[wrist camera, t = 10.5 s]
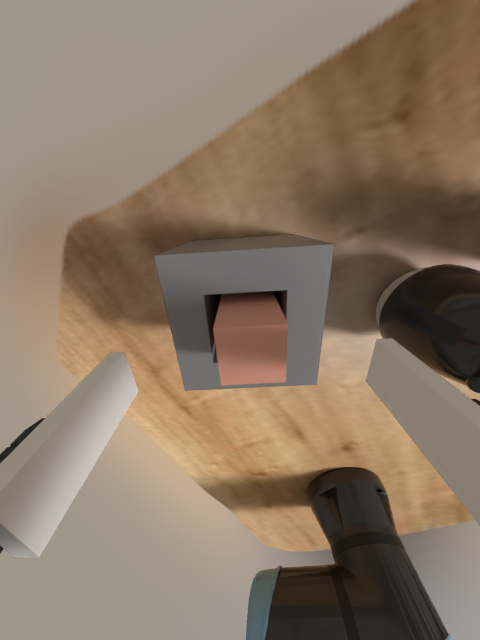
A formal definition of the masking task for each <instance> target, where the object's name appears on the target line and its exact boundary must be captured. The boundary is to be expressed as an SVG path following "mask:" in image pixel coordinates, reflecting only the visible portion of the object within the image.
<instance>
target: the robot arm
mask: <svg viewBox="0 0 480 640" xmlns="http://www.w3.org/2000/svg"><path fill="white" fill-rule="evenodd" d="M366 382H367V383H368V384H369V385H370V387H371V388H372V389H373V391H374V392H375V393H376V394H377V396H378V397H379V398H380V399H381V401H382V402H383V403H384V404H385V406H386V407H387V408H388V410H389V411H390V412H391V413H392V415H393V416H394V417H395V418H396V420H397V421H398V422H399V424H400V425H401V426H402V427H403V429H404V430H405V431H406V432H407V434H408V435H409V436H410V437H411V439H412V440H413V441H414V443H415V444H416V445H417V446H418V448H419V449H420V450H421V451H422V453H423V454H424V455H425V457H426V458H427V459H428V460H429V462H430V463H431V464H432V465H433V467H434V468H435V469H436V470H437V472H438V473H439V474H440V476H441V477H442V478H443V479H444V481H445V482H446V483H447V484H448V486H449V487H450V488H451V490H452V491H453V492H454V493H455V495H456V496H457V497H458V498H459V500H460V501H461V502H462V503H463V505H464V506H465V507H466V509H467V510H468V511H469V512H470V514H471V515H472V516H473V517H474V519H475V520H476V521H477V522H478V524H479V525H480V401H478V400H476V399H470V398H469V397H467V396H466V395H465V394H464V393H462V392H461V391H460V390H458V389H457V388H456V387H454V386H453V385H452V384H451V383H449V382H448V381H447V380H445V379H444V378H443V377H441V376H440V375H439V374H438V373H436V372H435V371H434V370H432V369H431V368H430V367H428V366H427V365H426V364H425V363H423V362H422V361H421V360H419V359H418V358H417V357H416V356H414V355H413V354H412V353H410V352H409V351H408V350H406V349H405V348H404V347H403V346H401V345H400V344H399V343H397V342H396V341H395V340H393V339H392V338H388V339H377V340H376V344H375V348H374V351H373V355H372V359H371V363H370V367H369V371H368V375H367V379H366ZM137 393H138V389H137V386H136V383H135V380H134V377H133V375H132V372H131V369H130V366H129V363H128V361H127V358H126V355H125V352H115V353H109V354H108V355H107V356H106V357H105V358H104V359H103V360H102V362H101V363H100V364H99V365H98V366H97V367H96V368H95V369H94V370H93V371H92V372H91V373H90V374H89V375H88V376H87V377H86V378H85V379H84V380H83V381H82V382H81V383H80V384H79V385H78V386H77V387H76V388H75V389H74V390H73V391H72V392H71V393H70V394H69V395H68V396H67V397H66V398H65V399H64V400H63V401H62V402H61V403H60V404H59V405H58V406H57V407H56V408H55V409H54V410H53V411H52V412H51V413H50V414H49V415H48V416H47V417H46V418H42V419H41V420H39V421H38V422H36V423H35V424H33V425H32V426H30V427H29V428H28V429H26V430H25V431H24V432H23V433H22V434H21V435H20V436H19V437H18V438H17V439H16V440H15V441H14V442H13V443H12V444H11V446H10V447H7V448H6V449H5V450H4V451H3V452H2V453H1V454H0V553H1V552H2V550H3V549H4V550H5V551H7V552H8V553H9V554H10V555H12V556H13V557H14V558H16V557H17V558H19V557H39V556H40V555H41V553H42V552H43V550H44V548H45V546H46V545H47V543H48V542H49V540H50V538H51V537H52V535H53V533H54V532H55V530H56V528H57V527H58V525H59V523H60V522H61V520H62V518H63V517H64V515H65V513H66V512H67V510H68V508H69V507H70V505H71V503H72V502H73V500H74V498H75V497H76V495H77V493H78V491H79V490H80V488H81V487H82V485H83V483H84V482H85V480H86V478H87V477H88V475H89V473H90V471H91V470H92V468H93V466H94V464H95V463H96V461H97V460H98V458H99V456H100V455H101V453H102V451H103V450H104V448H105V446H106V445H107V443H108V441H109V440H110V438H111V436H112V435H113V433H114V431H115V430H116V428H117V426H118V425H119V423H120V421H121V420H122V418H123V416H124V415H125V413H126V411H127V410H128V408H129V406H130V405H131V403H132V401H133V400H134V398H135V396H136V395H137ZM307 494H308V499H309V503H310V506H311V509H312V511H313V513H314V515H315V517H316V519H317V521H318V522H319V524H320V526H321V528H322V530H323V532H324V534H325V536H326V538H327V540H328V542H329V544H330V547H331V550H332V554H333V557H334V561H335V564H333V565H320V566H303V567H286V568H282V566H278V567H277V568H275V569H268V570H262V571H260V572H258V573H257V574H256V576H255V577H254V580H253V582H252V586H251V591H250V597H249V605H248V615H247V629H246V640H452V638H451V636H450V634H448V633H447V631H446V629H445V627H444V625H443V623H442V621H441V619H440V617H439V615H438V613H437V611H436V609H435V607H434V605H433V603H432V601H431V599H430V597H429V595H428V593H427V591H426V589H425V587H424V585H423V583H422V581H421V579H420V577H419V576H418V574H417V572H416V570H415V568H414V566H413V564H412V562H411V560H410V558H409V556H408V554H407V552H406V550H405V548H404V546H403V544H402V542H401V540H400V539H399V536H398V534H397V531H396V527H395V523H394V519H393V515H392V511H391V507H390V503H389V499H388V495H387V492H386V490H385V488H384V486H383V484H382V482H381V480H380V479H379V477H378V476H377V475H376V474H374V473H372V472H370V471H368V470H364V469H357V468H346V469H339V470H334V471H331V472H328V473H325V474H323V475H321V476H319V477H318V478H316V479H315V480H314V481H313V482H312V483H311V484H310V485H309V487H308V490H307Z"/></svg>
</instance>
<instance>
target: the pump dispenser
mask: <svg viewBox="0 0 480 640" xmlns="http://www.w3.org/2000/svg"><path fill="white" fill-rule="evenodd" d="M376 321H377V324H378V327H379V330H380V333H381V336H382V338H383V339H388V338H392V339H393V340H395V341H396V342H397V343H399V344H400V345H401V346H403V347H404V348H405V349H406V350H408V351H409V352H410V353H412V354H413V355H414V356H416V357H417V358H418V359H419V360H421V361H422V362H423V363H425V364H426V365H427V366H428V367H430V368H431V369H432V370H434V371H435V372H436V373H438V374H440V375H442V376H444V377H446V378H449V379H451V380H454V381H456V382H458V383H461V384H463V385H466V386H468V388H469V389H471V390H472V391H474V392H477V393H480V271H478V270H475V269H472V268H469V267H465V266H460V265H453V264H443V265H436V266H432V267H427V268H422V269H418V270H414V271H411V272H409V273H407V274H404V275H403V276H401V277H399V278H398V279H396V280H395V281H393V282H392V283H391V284H390V285H389V286H388V287H387V288H386V289H385V290H384V292H383V293H382V295H381V296H380V298H379V301H378V303H377V307H376Z"/></svg>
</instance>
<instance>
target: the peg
mask: <svg viewBox="0 0 480 640" xmlns="http://www.w3.org/2000/svg"><path fill="white" fill-rule="evenodd" d="M213 331H214V338H215V346H216V353H217V360H218V367H219V374H220V381H221V386H223V385H242V384H261V383H281V382H286V367H287V338H288V323H287V321H286V319H285V317H284V314H283V312H282V310H281V308H280V306H279V304H278V301H277V299H276V297H275V295H274V293H273V291H262V292H245V293H228V294H222V295H221V299H220V303H219V307H218V311H217V315H216V319H215V323H214V327H213Z"/></svg>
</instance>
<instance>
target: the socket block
mask: <svg viewBox="0 0 480 640" xmlns="http://www.w3.org/2000/svg"><path fill="white" fill-rule="evenodd" d="M333 250H334V244H332V243H327V242H323V241H319V240H315V239H311V238H307V237H303V236H298V235H294V234H286V235H271V236H256V237H240V238H225V239H210V240H194V241H190V242H187V243H185V244H182V245H180V246H177V247H174V248H172V249H169V250H167V251H164V252H162V253H159V254H157V255H154V258H155V263H156V267H157V271H158V276H159V280H160V284H161V289H162V293H163V297H164V302H165V306H166V310H167V315H168V319H169V323H170V328H171V332H172V336H173V341H174V345H175V349H176V354H177V358H178V362H179V367H180V371H181V375H182V380H183V384H184V388H185V391H187V390H209V389H230V388H252V387H274V386H296V385H317V377H318V369H319V361H320V353H321V345H322V337H323V329H324V321H325V313H326V305H327V298H328V290H329V282H330V274H331V266H332V258H333ZM262 291H273V293H274V295H275V297H276V299H277V301H278V304H279V306H280V308H281V310H282V312H283V314H284V317H285V319H286V321H287V323H288V338H287V367H286V382H281V383H261V384H242V385H223V386H221V381H220V374H219V367H218V360H217V353H216V346H215V338H214V331H213V327H214V323H215V319H216V315H217V311H218V307H219V303H220V299H221V294H228V293H245V292H262Z"/></svg>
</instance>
